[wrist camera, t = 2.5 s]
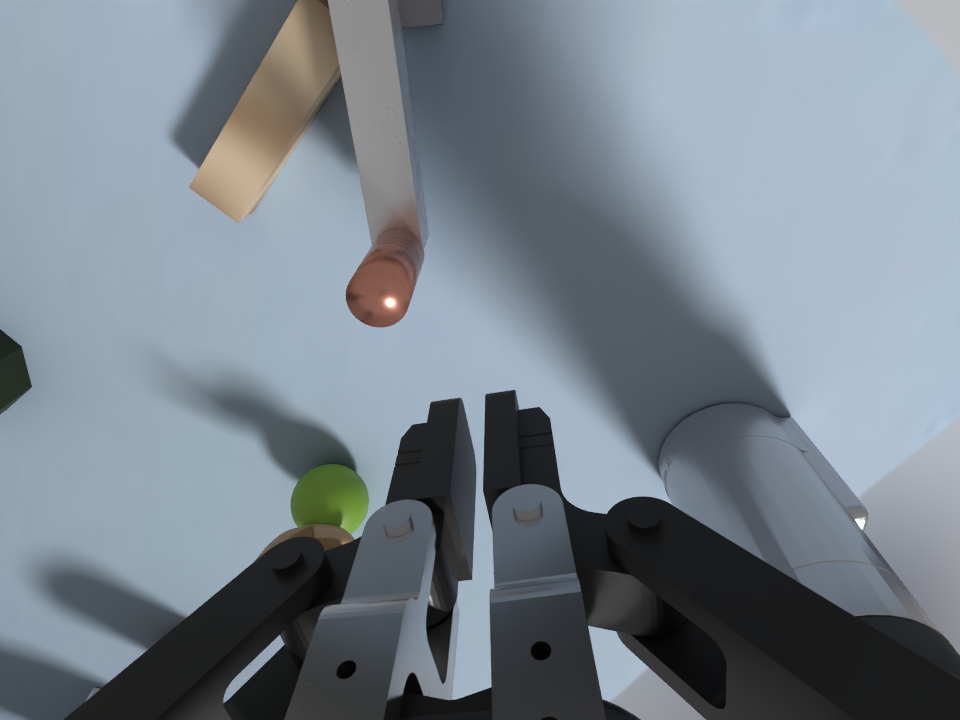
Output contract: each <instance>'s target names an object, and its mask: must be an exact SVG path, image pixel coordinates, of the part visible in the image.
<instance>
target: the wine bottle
mask: <svg viewBox="0 0 960 720" xmlns="http://www.w3.org/2000/svg"><path fill="white" fill-rule="evenodd" d="M31 387H32V386H31V382H30V378H29V374H28V370H27V366H26V363H25V359H24V355H23V351H22V347H21V346H20V345H18V344H17V343H16V342H15V341H14V340H12V339H11V338H10V337H9V336H7V335H6V334H5V333H4V332H2V331H1V330H0V414H1V413H2V412H4V411H5V410H7V409H8V408H9V407H10V406H11V405H12V404H13V403H14V402H15V401H17V400H18V399H19V398H20V397H21V396H22V395H23V394H24V393H26V392H27V391H28V390H29V389H30V388H31Z"/></svg>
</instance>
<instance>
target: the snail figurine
mask: <svg viewBox="0 0 960 720" xmlns="http://www.w3.org/2000/svg"><path fill="white" fill-rule="evenodd" d="M368 504H369V497H368V491H367V488H366V485H365V483H364V482H363V480H362V479H361V477H360V476H359V475H358V474H357V473H356V472H355V471H353V470H352V469H350V468H348V467H346V466H343V465H338V464H326V465H321V466H318V467H316V468H314V469H312V470H310V471H309V472H307V473H306V474H305V475H304V476H303V477H302V478H301V479H300V480H299V481H298V483H297V485H296V486H295V488H294V491H293V493H292V498H291V513H292V517H293V519H294V522H295V523H296V525H297V527H298V528H294V529H291V530H288V531H286V532H284V533H282V534H281V535H279V536H278V537H277V538H275V539H274V540H273V541H272V542H271V543H270V544H269V545H268V546H267V547H266V548H265V549H264V550H263V552H262V553H261V554H260V555H259V557H258V558H260V557H261V556H262V555H263V554H264V553H266V552H267V551H268V550H269V549H271V548H272V547H274V546H275V545H277V544H279V543H281V542H283V541H285V540H288V539H291V538H295V537H302V536H304V537H312V538H315V539H317V540H318V541H320V542H321V543H322V545H323V547H324V549H325V551H327V550H330V549H332V548H335V547H338V546H340V545H342V544H346V543H349V542H351V541H353V540H354V538H353V536H352V535H351V534H352V533H353V532H354V531H355V530H356V529H357V528H358V527H359V526H360V525H361V523H362V522H363V520H364V518H365V516H366V514H367V510H368ZM258 558H257V559H258ZM257 559H256V560H257ZM256 560H255V561H256Z"/></svg>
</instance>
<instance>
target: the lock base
mask: <svg viewBox="0 0 960 720" xmlns="http://www.w3.org/2000/svg"><path fill="white" fill-rule="evenodd" d="M398 6H399V14H400V21H401V28H408V27H418V26H427V25H437V24H444V21H443V11H442V1H441V0H398ZM340 77H341V71H340V65H339V60H338V54H337V49H336V43H335V38H334V32H333V27H332V21H331V16H330V10H329V5H328V0H298V1H297V2H296V4H295V6H294V7H293V9H292V11H291V13H290V14H289V16H288V18H287V19H286V21H285V23H284V25H283V26H282V28H281V30H280V31H279V33H278V35H277V37H276V38H275V40H274V42H273V43H272V45H271V47H270V49H269V50H268V52H267V54H266V55H265V57H264V59H263V61H262V62H261V64H260V66H259V67H258V69H257V71H256V73H255V74H254V76H253V78H252V79H251V81H250V83H249V85H248V86H247V88H246V90H245V92H244V93H243V95H242V97H241V98H240V100H239V102H238V104H237V105H236V107H235V109H234V110H233V112H232V114H231V116H230V117H229V119H228V121H227V122H226V124H225V126H224V128H223V129H222V131H221V133H220V134H219V136H218V138H217V140H216V141H215V143H214V145H213V146H212V148H211V150H210V152H209V153H208V155H207V157H206V158H205V160H204V162H203V164H202V165H201V167H200V169H199V170H198V172H197V174H196V176H195V177H194V179H193V181H192V183H191V184H190V186H189V188H190V189H192V190H193V191H195V192H196V193H197V194H199V195H200V196H201V197H203V198H204V199H206V200H207V201H208V202H210V203H211V204H213V205H214V206H215V207H217V208H218V209H219V210H221V211H222V212H224V213H225V214H226V215H228V216H229V217H231V218H232V219H233V220H235V221H236V222H239V221H240V220H242V219H243V218H245V217H246V216H248V215H249V214H251V213H252V212H253V211H254V210H255V208H256V207H257V205H258V204H259V202H260V201H261V199H262V198H263V196H264V194H265V193H266V191H267V190H268V188H269V187H270V185H271V184H272V182H273V181H274V179H275V177H276V176H277V174H278V173H279V171H280V170H281V168H282V167H283V165H284V164H285V162H286V161H287V159H288V157H289V156H290V154H291V153H292V151H293V150H294V148H295V147H296V145H297V144H298V142H299V140H300V139H301V137H302V136H303V134H304V133H305V131H306V130H307V128H308V127H309V125H310V123H311V122H312V120H313V119H314V117H315V116H316V114H317V113H318V111H319V110H320V108H321V106H322V105H323V103H324V102H325V100H326V99H327V97H328V96H329V94H330V93H331V91H332V90H333V88H334V86H335V85H336V83H337V82H338V80H339V79H340Z"/></svg>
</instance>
